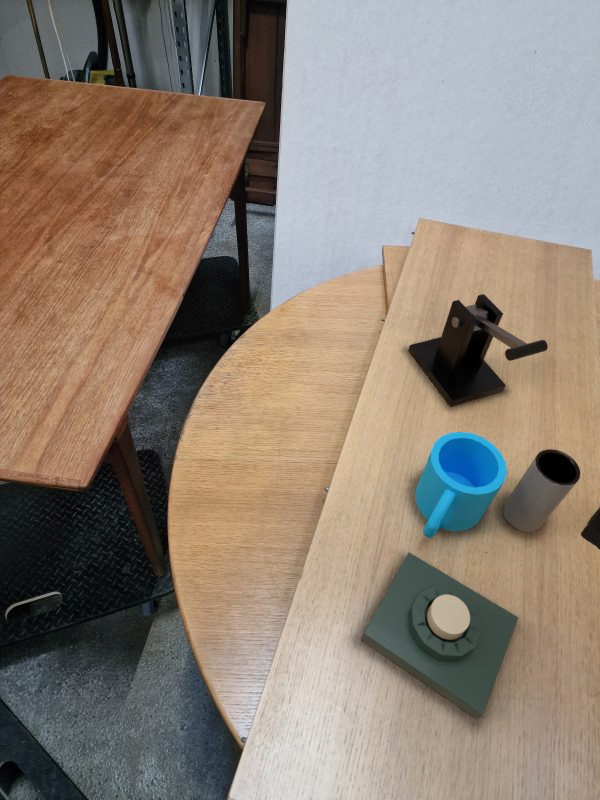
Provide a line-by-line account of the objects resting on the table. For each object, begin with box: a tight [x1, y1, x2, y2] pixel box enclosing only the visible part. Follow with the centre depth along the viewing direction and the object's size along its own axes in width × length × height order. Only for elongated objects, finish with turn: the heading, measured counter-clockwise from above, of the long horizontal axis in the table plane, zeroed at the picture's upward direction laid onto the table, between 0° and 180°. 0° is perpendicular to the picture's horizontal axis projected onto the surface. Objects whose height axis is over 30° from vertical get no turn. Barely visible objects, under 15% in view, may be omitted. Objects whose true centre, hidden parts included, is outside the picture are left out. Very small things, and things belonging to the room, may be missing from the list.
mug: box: [414, 431, 508, 539], centre depth 58 cm, size 12×8×8 cm
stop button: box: [427, 595, 470, 640], centre depth 48 cm, size 4×4×2 cm
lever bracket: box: [407, 293, 507, 408], centre depth 72 cm, size 12×9×12 cm
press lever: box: [465, 303, 549, 362], centre depth 65 cm, size 12×5×2 cm, turn 21°
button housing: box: [360, 552, 519, 719], centre depth 50 cm, size 12×10×4 cm
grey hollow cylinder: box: [502, 448, 581, 533], centre depth 57 cm, size 4×4×10 cm
